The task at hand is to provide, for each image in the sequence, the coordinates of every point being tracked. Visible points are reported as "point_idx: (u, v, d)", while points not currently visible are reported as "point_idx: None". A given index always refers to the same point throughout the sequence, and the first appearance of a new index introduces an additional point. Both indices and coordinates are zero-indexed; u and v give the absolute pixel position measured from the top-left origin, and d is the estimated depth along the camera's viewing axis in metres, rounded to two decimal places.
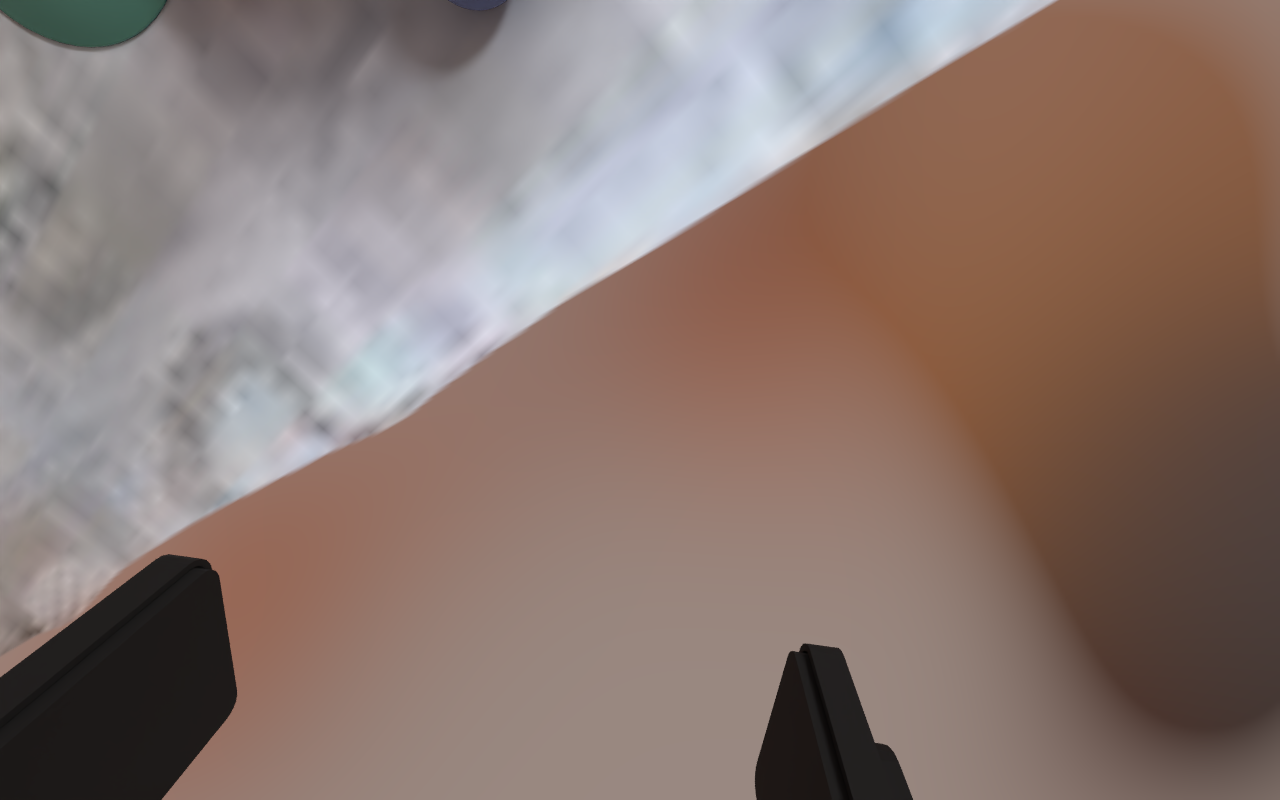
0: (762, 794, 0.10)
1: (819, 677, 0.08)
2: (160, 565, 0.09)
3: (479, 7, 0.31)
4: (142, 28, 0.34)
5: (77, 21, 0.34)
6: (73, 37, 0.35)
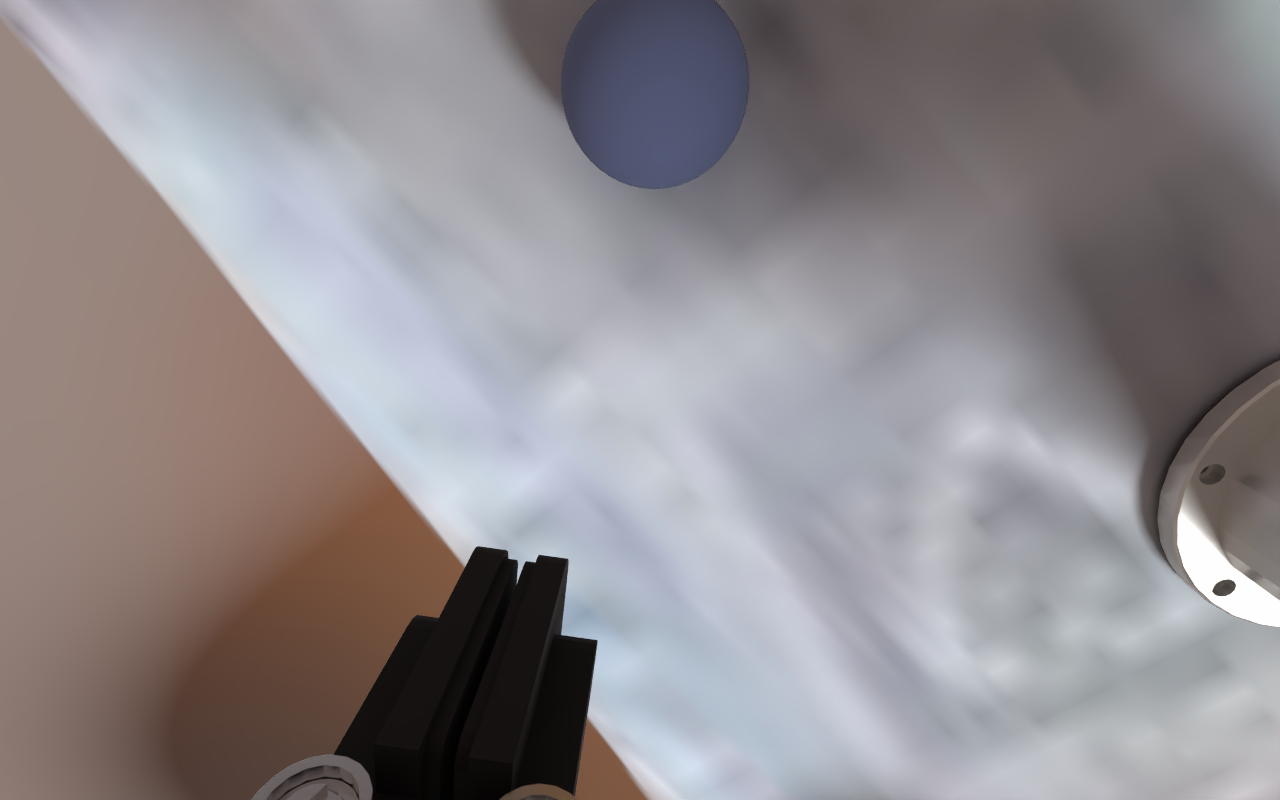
0: None
1: (533, 579, 0.10)
2: (481, 555, 0.10)
3: (563, 99, 0.18)
4: None
5: None
6: None
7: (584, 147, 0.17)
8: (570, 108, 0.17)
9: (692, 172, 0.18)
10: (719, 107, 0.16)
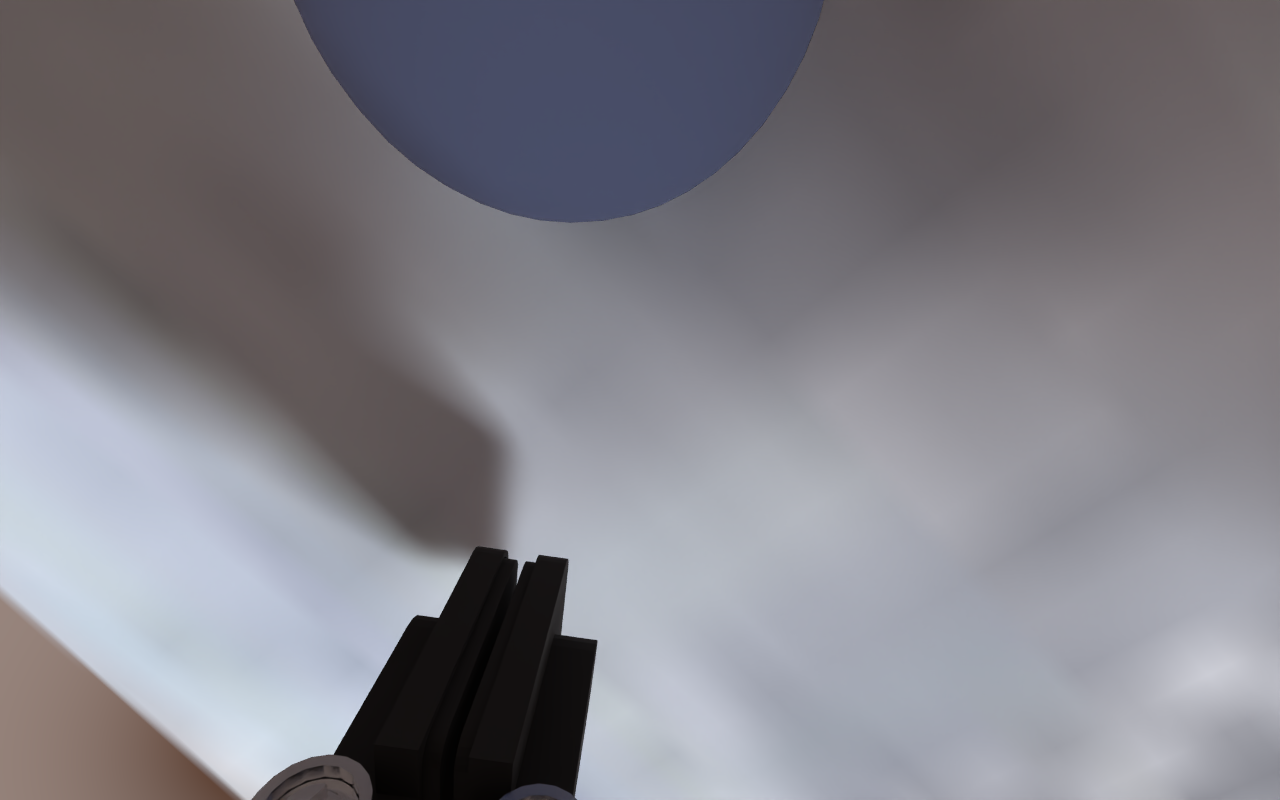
0: None
1: (533, 579, 0.10)
2: (481, 555, 0.10)
3: None
4: None
5: None
6: None
7: (359, 108, 0.06)
8: None
9: (672, 183, 0.06)
10: None
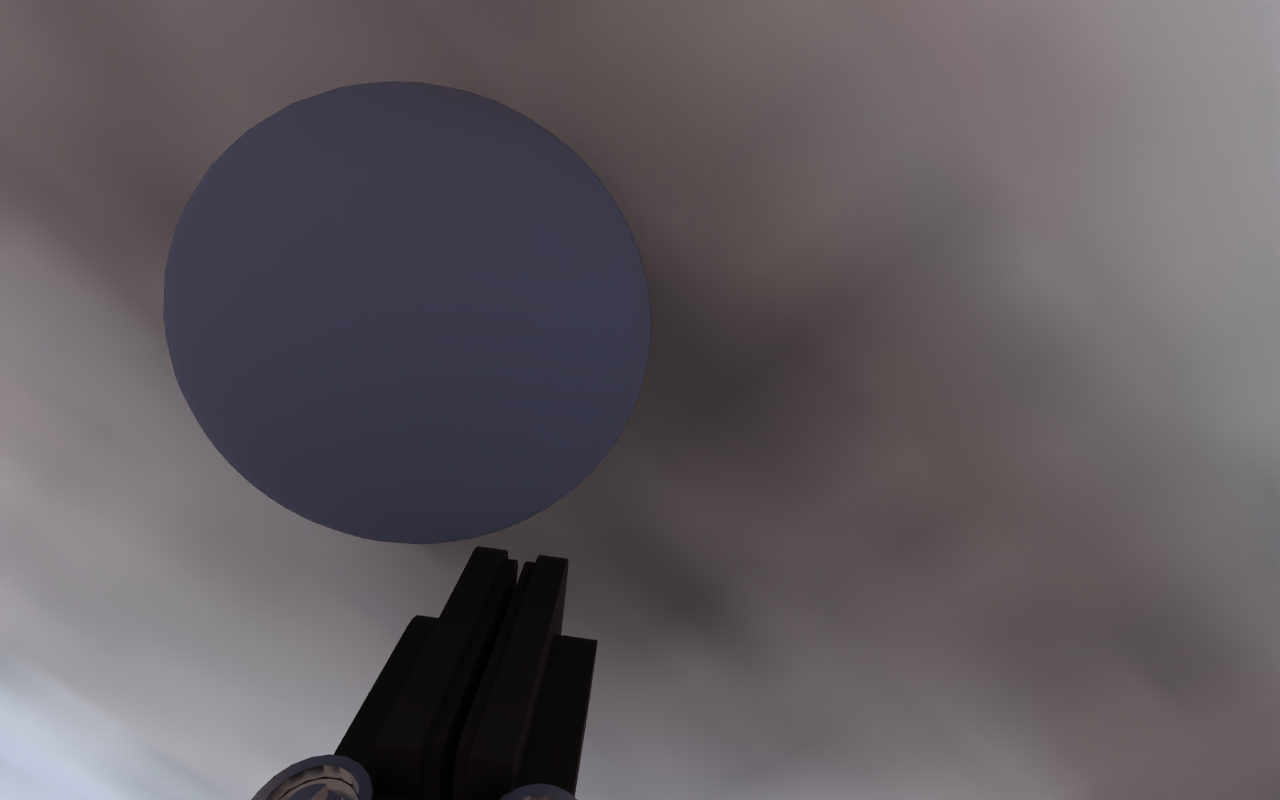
0: None
1: (533, 579, 0.10)
2: (481, 555, 0.10)
3: None
4: None
5: None
6: None
7: None
8: None
9: (545, 130, 0.07)
10: None
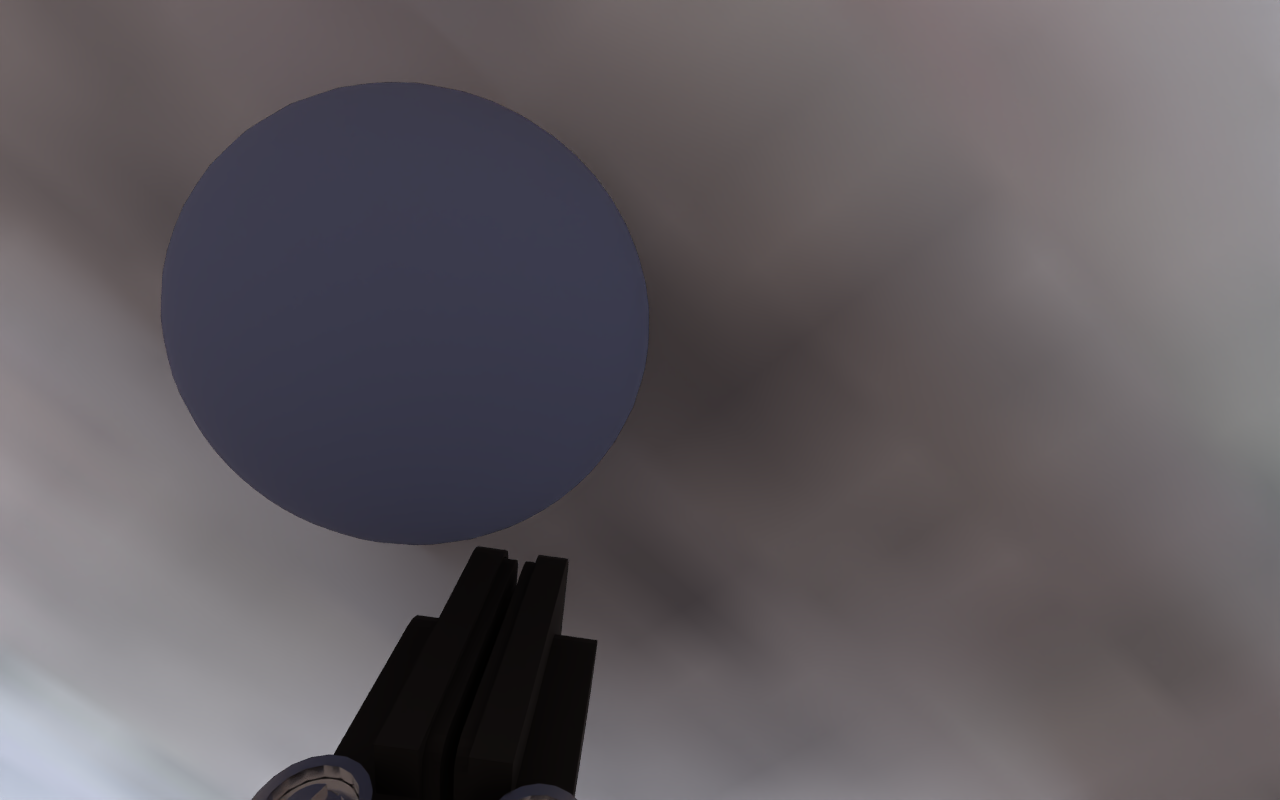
0: None
1: (533, 579, 0.10)
2: (481, 555, 0.10)
3: None
4: None
5: None
6: None
7: None
8: None
9: None
10: None
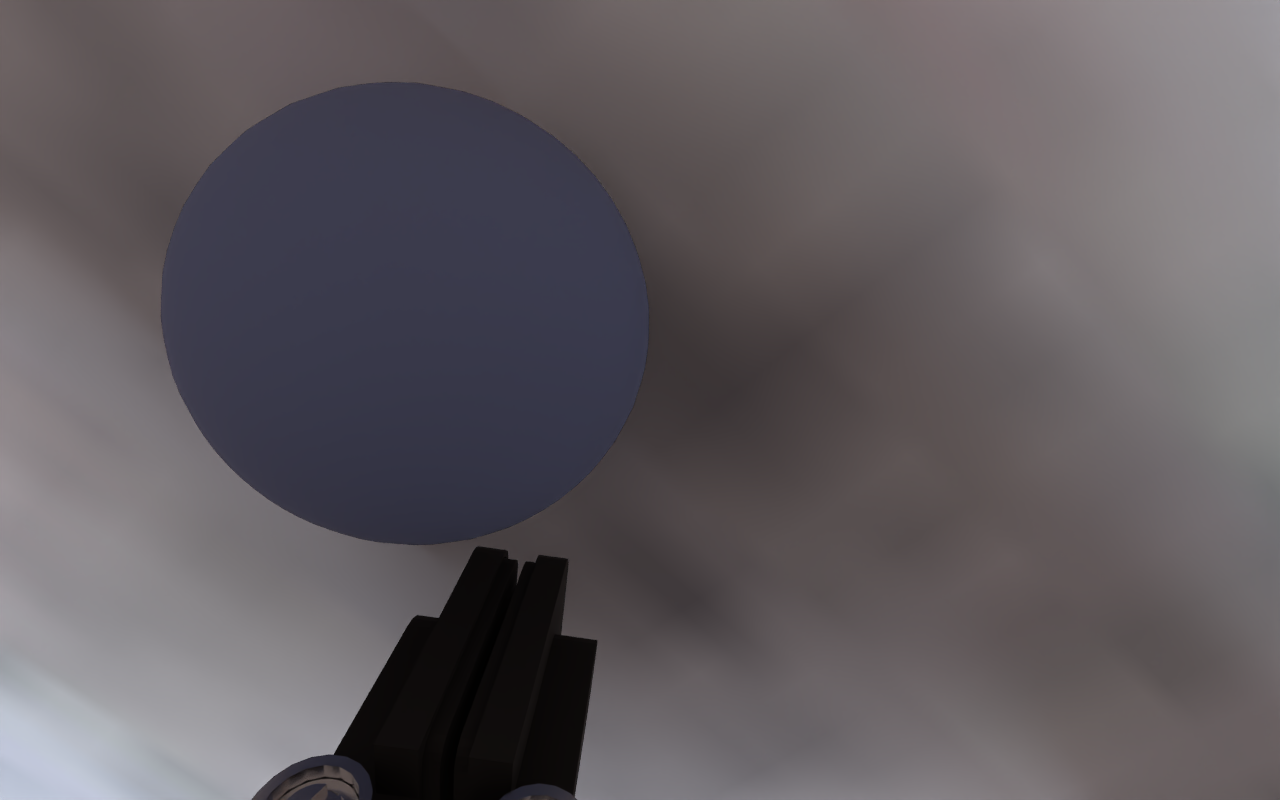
0: None
1: (533, 579, 0.10)
2: (481, 555, 0.10)
3: None
4: None
5: None
6: None
7: None
8: None
9: None
10: None
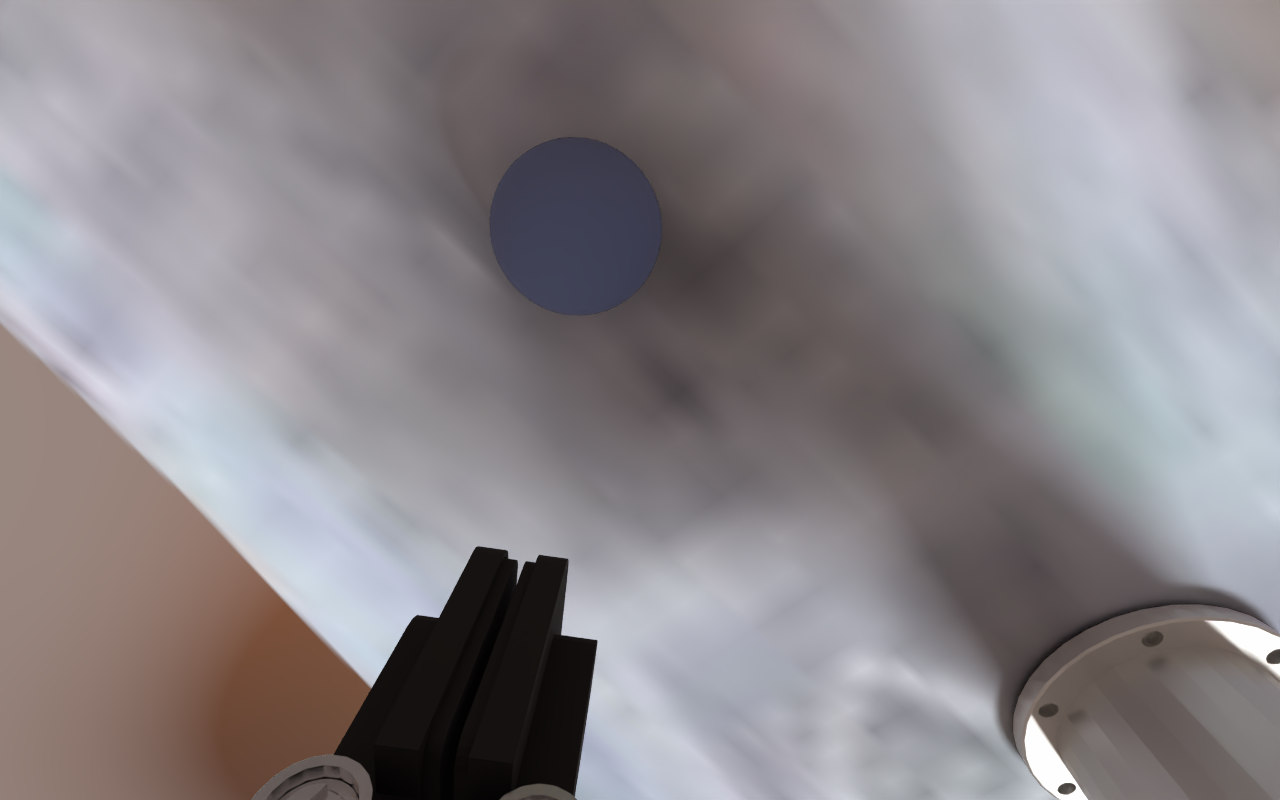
0: None
1: (533, 579, 0.10)
2: (481, 555, 0.10)
3: None
4: None
5: None
6: None
7: None
8: None
9: None
10: None
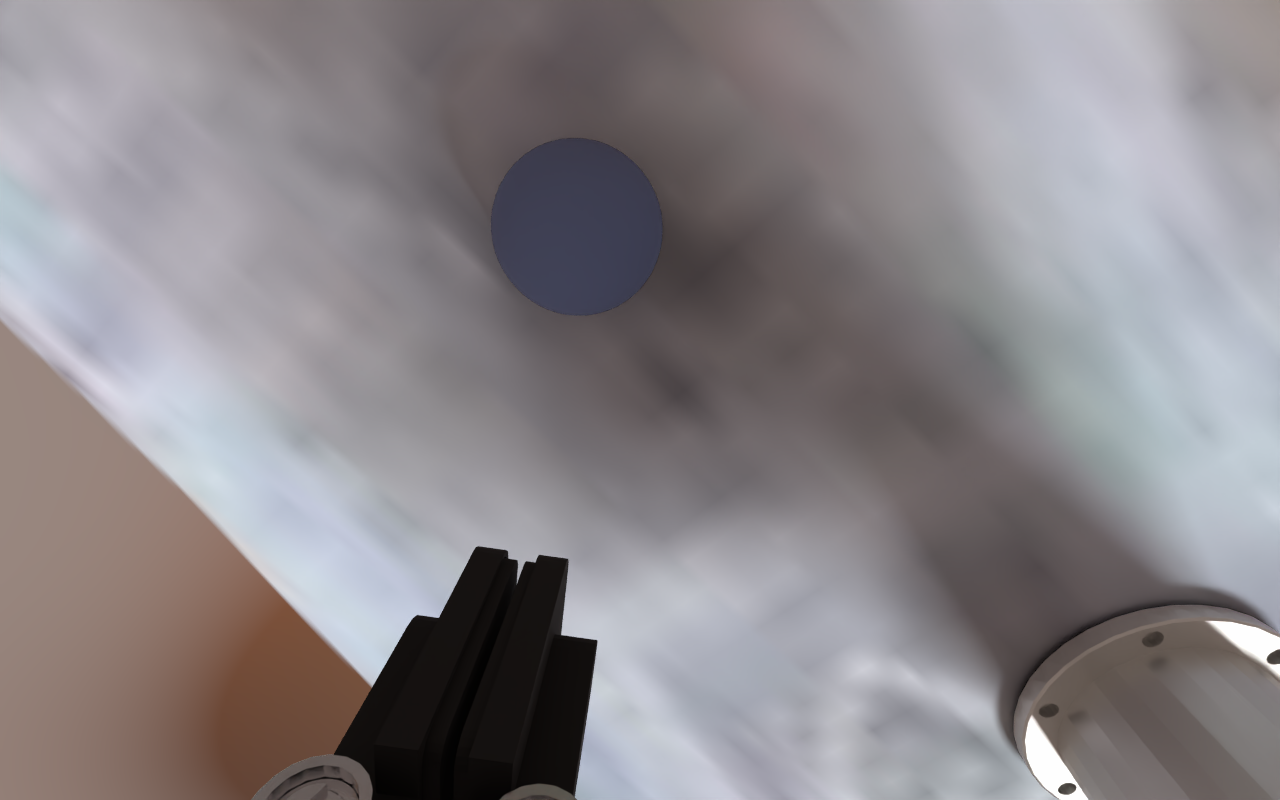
0: None
1: (533, 579, 0.10)
2: (481, 555, 0.10)
3: None
4: None
5: None
6: None
7: None
8: None
9: None
10: None
